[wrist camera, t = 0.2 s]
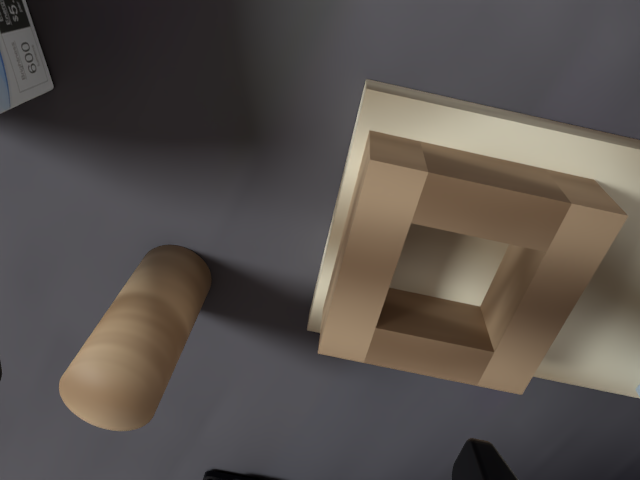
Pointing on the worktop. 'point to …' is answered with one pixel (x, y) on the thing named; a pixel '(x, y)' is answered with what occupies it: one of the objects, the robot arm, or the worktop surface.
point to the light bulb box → (20, 57)
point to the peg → (138, 341)
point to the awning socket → (483, 247)
